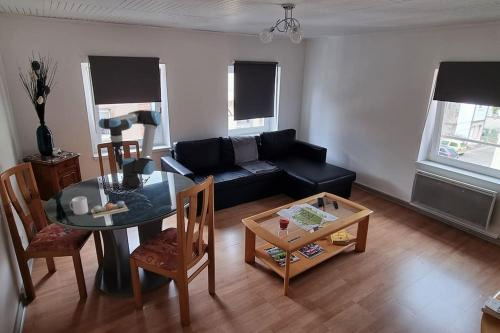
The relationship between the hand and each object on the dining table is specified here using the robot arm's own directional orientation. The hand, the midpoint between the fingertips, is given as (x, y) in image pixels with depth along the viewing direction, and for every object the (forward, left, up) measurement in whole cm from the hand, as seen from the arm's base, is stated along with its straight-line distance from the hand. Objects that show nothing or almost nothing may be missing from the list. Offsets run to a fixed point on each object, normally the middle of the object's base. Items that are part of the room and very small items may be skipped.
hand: (120, 172), depth 224 cm
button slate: (+13, -5, -21) cm, 25 cm away
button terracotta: (+13, -12, -21) cm, 28 cm away
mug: (+5, -30, -23) cm, 38 cm away
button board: (+13, -12, -23) cm, 29 cm away
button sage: (+13, -20, -21) cm, 32 cm away
